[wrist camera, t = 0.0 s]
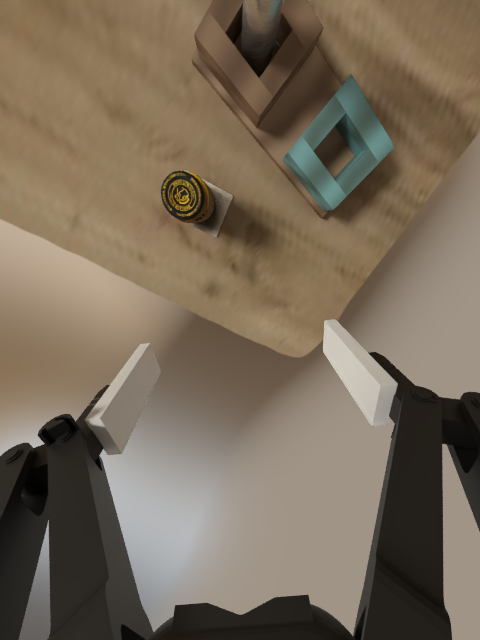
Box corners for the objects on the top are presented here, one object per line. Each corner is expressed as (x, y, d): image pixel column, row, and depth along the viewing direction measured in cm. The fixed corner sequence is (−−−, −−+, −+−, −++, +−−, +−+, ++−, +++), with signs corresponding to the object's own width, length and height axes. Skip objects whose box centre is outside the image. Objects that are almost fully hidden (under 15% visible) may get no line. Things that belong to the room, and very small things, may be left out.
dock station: (193, 64, 29) (185, 35, 24) (253, -42, 25) (258, -101, 21) (320, 217, 38) (332, 217, 33) (379, 155, 34) (402, 146, 29)
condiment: (185, 169, 34) (163, 148, 23) (233, 196, 36) (232, 187, 25) (171, 215, 37) (145, 214, 26) (216, 237, 39) (209, 245, 28)
